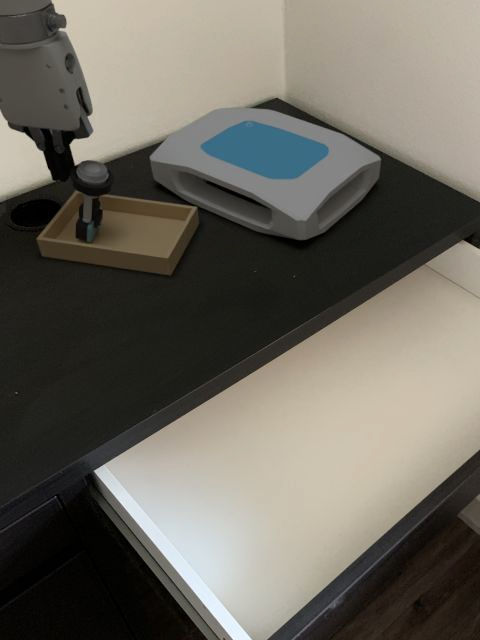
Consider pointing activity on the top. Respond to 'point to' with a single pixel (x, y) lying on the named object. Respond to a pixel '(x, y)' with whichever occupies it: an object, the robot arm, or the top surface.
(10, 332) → the top surface
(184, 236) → the tray
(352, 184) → the grey rounded box
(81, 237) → the push button
